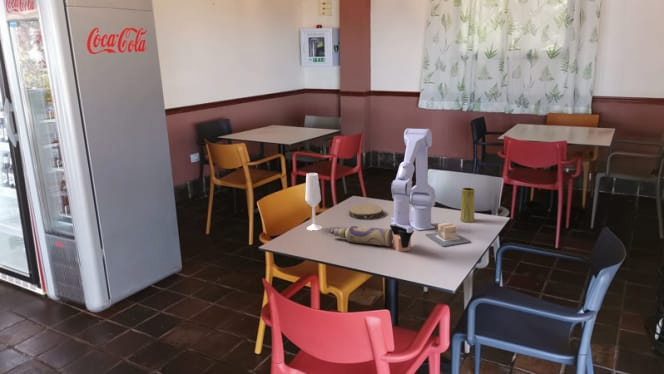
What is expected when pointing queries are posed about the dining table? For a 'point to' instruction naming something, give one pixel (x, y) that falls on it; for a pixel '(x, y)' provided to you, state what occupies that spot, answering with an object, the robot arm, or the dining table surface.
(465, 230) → the dining table surface
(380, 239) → the decorative bottle
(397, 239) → the terracotta block
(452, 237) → the beech block
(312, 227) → the champagne flute
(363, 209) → the wood slice
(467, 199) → the vase
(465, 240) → the baseplate
